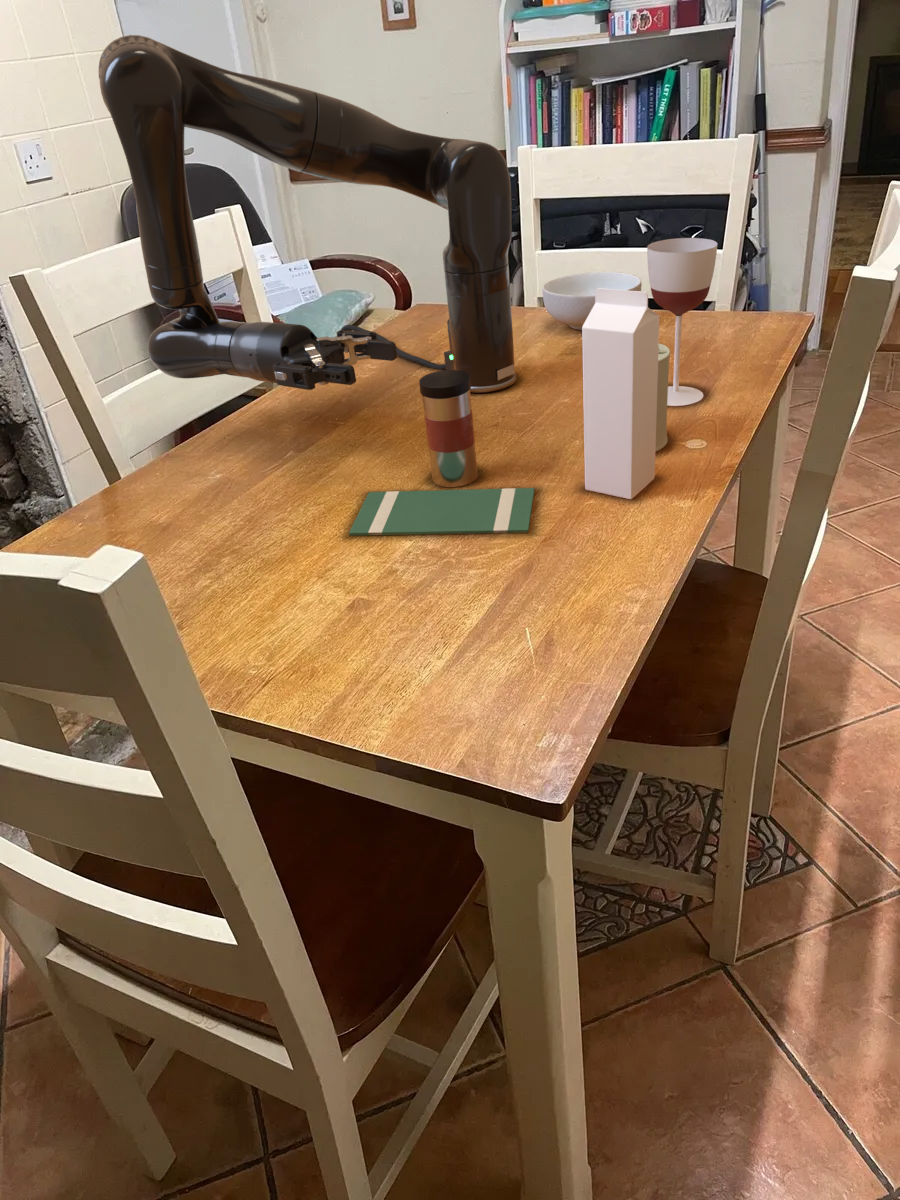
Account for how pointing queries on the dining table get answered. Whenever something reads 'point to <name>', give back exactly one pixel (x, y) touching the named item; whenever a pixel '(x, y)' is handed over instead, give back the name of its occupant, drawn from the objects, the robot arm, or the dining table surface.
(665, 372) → the can
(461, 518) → the towel
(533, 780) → the dining table surface
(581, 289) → the cereal bowl
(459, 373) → the jar
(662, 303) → the wineglass
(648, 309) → the milk
